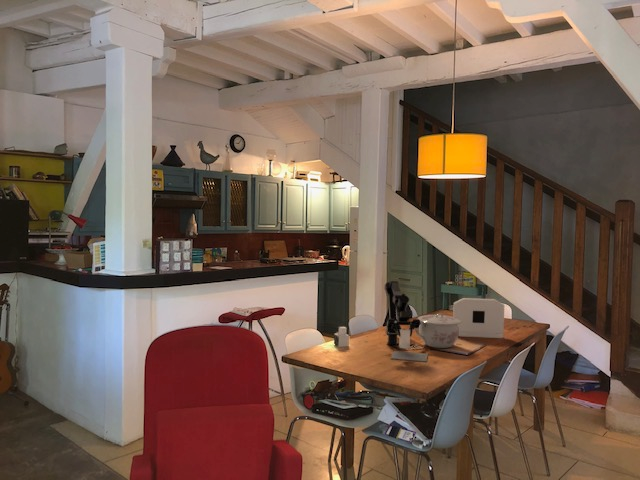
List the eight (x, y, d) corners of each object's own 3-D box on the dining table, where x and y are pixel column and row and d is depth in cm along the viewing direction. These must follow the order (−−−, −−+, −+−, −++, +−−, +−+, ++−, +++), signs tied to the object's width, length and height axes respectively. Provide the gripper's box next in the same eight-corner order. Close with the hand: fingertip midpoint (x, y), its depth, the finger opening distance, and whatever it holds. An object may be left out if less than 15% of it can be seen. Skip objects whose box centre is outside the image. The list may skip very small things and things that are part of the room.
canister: (397, 346, 299) (397, 329, 299) (403, 345, 303) (404, 328, 303) (405, 349, 295) (405, 331, 294) (412, 347, 299) (412, 330, 298)
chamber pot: (461, 342, 341) (462, 310, 340) (460, 353, 314) (462, 319, 313) (417, 338, 348) (418, 307, 347) (413, 349, 322) (414, 315, 321)
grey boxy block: (495, 330, 379) (496, 294, 377) (503, 338, 355) (504, 299, 353) (447, 328, 382) (448, 292, 381) (452, 336, 358) (454, 298, 357)
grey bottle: (333, 344, 329) (334, 325, 328) (344, 343, 331) (344, 325, 331) (338, 347, 322) (338, 328, 321) (348, 346, 325) (349, 327, 324)
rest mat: (393, 351, 314) (393, 350, 314) (427, 354, 309) (427, 353, 309) (390, 359, 299) (390, 358, 299) (426, 362, 294) (426, 361, 294)
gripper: (388, 305, 301) (391, 328, 291) (420, 305, 302) (424, 328, 292) (385, 315, 309) (388, 339, 299) (416, 316, 311) (420, 339, 300)
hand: (405, 336), depth 297 cm, fingers closed on canister, 6 cm apart
